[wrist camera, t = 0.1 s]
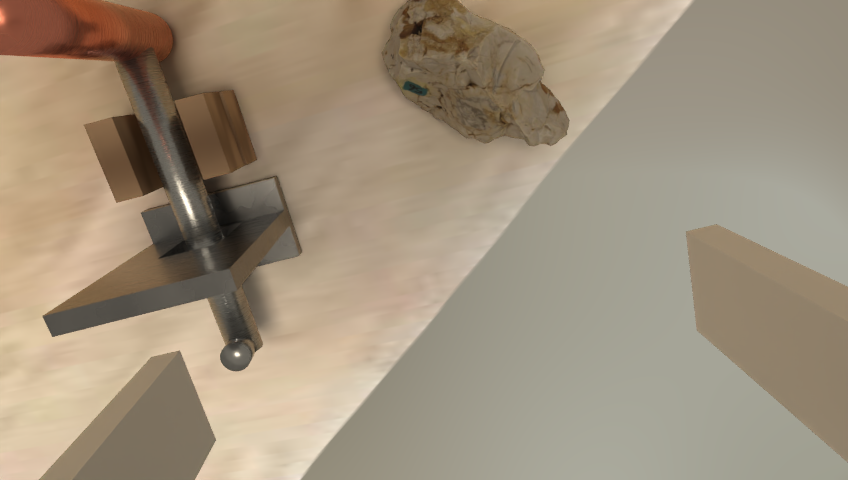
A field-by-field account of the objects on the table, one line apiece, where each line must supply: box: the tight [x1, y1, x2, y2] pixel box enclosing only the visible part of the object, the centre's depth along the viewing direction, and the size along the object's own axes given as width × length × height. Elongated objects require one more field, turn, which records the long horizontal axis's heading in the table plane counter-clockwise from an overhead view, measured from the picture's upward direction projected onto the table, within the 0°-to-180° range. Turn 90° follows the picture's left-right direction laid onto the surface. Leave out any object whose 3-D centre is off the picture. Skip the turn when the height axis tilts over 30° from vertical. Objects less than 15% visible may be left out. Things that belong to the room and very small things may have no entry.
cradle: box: [84, 90, 257, 203], centre depth 37 cm, size 5×8×6 cm, turn 104°
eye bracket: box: [43, 176, 302, 337], centre depth 35 cm, size 6×10×14 cm, turn 104°
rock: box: [382, 0, 569, 146], centre depth 36 cm, size 12×7×10 cm, turn 48°
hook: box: [0, 0, 263, 371], centre depth 33 cm, size 24×3×15 cm, turn 14°
